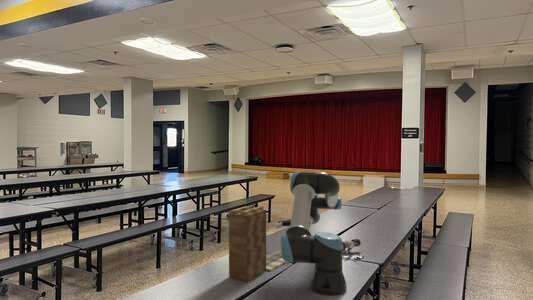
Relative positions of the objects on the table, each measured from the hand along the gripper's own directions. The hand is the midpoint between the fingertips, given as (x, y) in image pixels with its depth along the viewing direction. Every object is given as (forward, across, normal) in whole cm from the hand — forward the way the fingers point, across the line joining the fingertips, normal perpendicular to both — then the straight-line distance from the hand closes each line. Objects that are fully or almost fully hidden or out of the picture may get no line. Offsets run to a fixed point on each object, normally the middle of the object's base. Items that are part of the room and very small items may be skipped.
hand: (286, 228), depth 203 cm
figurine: (-18, -22, -15) cm, 32 cm away
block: (+11, 0, -13) cm, 17 cm away
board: (+14, 0, -14) cm, 20 cm away
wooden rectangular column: (+36, 0, -14) cm, 38 cm away
